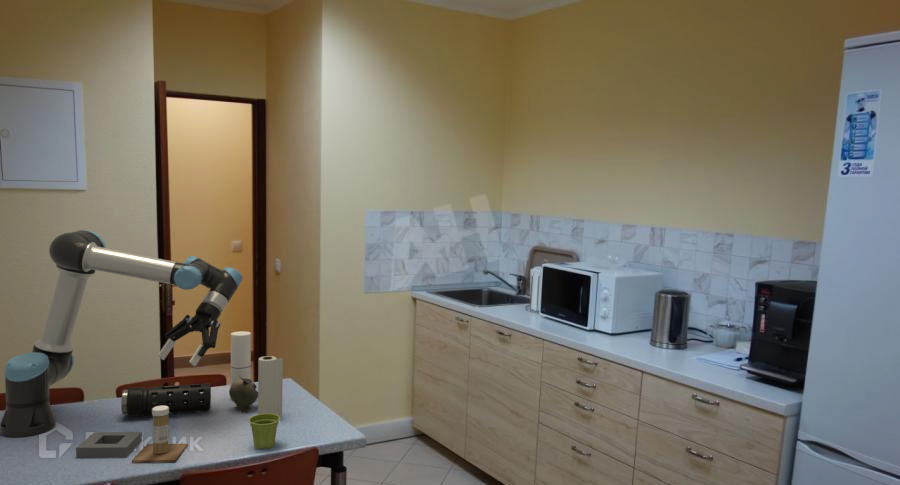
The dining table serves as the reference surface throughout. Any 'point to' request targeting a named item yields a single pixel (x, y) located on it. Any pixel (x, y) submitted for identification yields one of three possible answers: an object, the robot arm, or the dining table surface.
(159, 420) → the sprinkles bottle
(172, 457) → the pad
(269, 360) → the paper towel roll
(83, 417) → the dining table surface
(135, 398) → the muzzle brake
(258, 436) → the plant pot
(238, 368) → the cylindrical container
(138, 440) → the frame
